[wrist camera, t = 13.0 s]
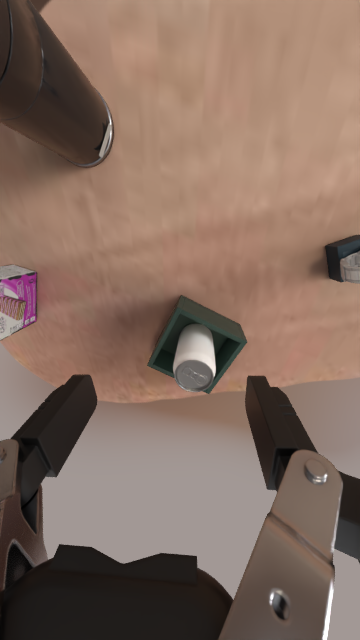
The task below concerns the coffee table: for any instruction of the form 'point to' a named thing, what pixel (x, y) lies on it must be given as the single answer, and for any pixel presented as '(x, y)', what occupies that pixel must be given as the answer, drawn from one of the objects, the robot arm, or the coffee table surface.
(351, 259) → the watch
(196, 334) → the can
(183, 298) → the bin
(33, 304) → the candy bar box
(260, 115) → the coffee table surface
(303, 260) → the coffee table surface
